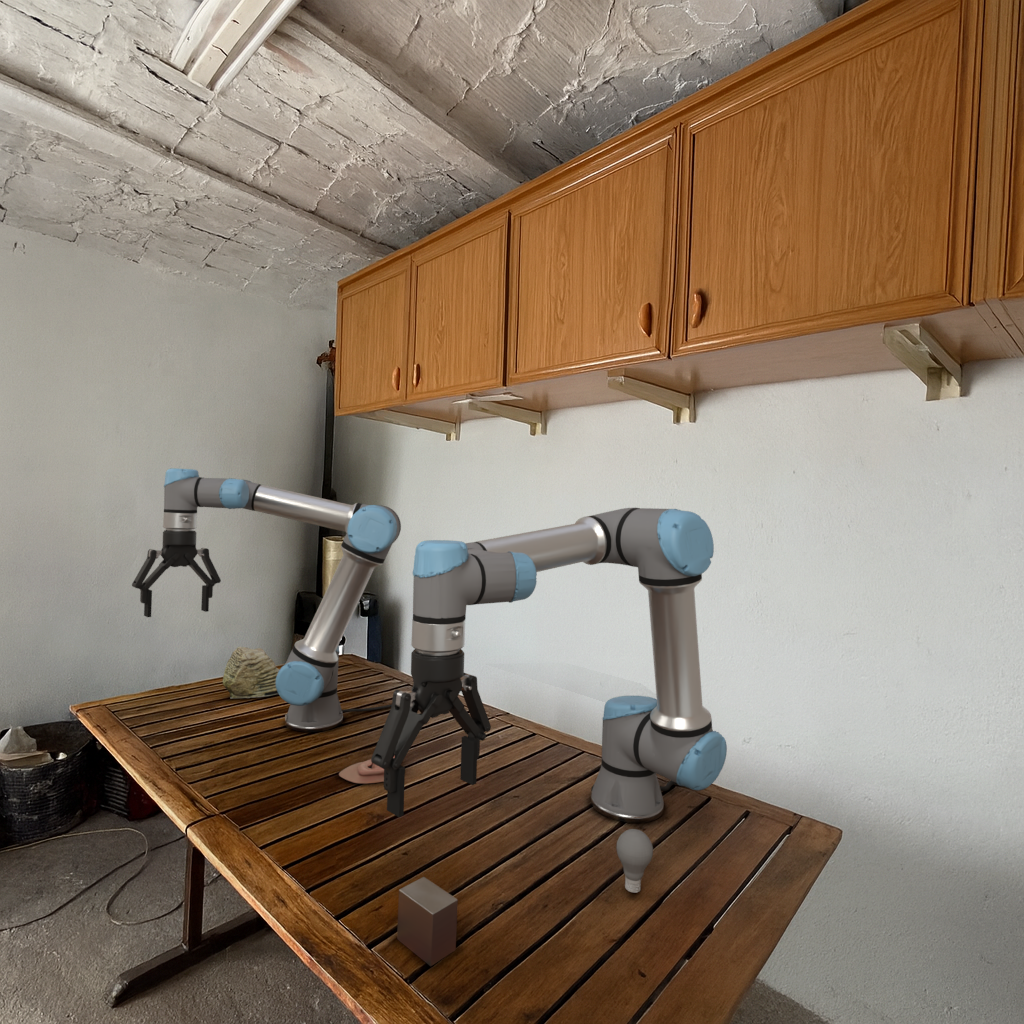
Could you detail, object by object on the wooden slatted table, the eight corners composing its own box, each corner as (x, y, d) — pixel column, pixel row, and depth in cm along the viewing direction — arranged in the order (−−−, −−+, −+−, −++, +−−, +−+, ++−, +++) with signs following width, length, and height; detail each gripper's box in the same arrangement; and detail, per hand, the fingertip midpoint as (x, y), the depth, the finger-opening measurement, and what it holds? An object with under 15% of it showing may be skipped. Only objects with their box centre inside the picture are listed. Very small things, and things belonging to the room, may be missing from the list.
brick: (396, 939, 92) (398, 889, 92) (421, 924, 95) (423, 876, 95) (430, 966, 87) (432, 914, 87) (455, 950, 90) (457, 899, 90)
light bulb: (610, 879, 108) (613, 822, 108) (644, 879, 109) (647, 822, 109) (619, 902, 102) (622, 840, 102) (655, 901, 103) (658, 840, 103)
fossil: (218, 695, 195) (220, 647, 195) (278, 685, 208) (279, 640, 207) (228, 703, 189) (230, 653, 188) (289, 692, 201) (290, 645, 201)
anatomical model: (332, 762, 141) (355, 743, 152) (332, 780, 141) (355, 759, 153) (388, 770, 139) (407, 750, 150) (388, 788, 139) (407, 766, 150)
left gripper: (129, 531, 148) (126, 621, 148) (235, 530, 166) (232, 610, 167) (119, 529, 153) (116, 616, 154) (223, 528, 172) (220, 606, 172)
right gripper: (381, 670, 78) (376, 839, 79) (516, 641, 97) (511, 778, 97) (347, 658, 83) (343, 817, 84) (481, 632, 102) (477, 762, 102)
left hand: (177, 613), depth 160 cm, fingers open, 13 cm apart
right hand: (433, 796), depth 91 cm, fingers open, 13 cm apart
